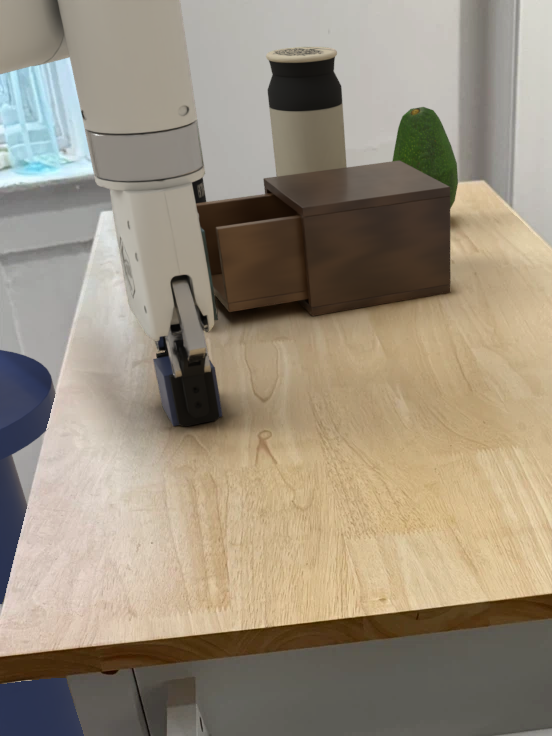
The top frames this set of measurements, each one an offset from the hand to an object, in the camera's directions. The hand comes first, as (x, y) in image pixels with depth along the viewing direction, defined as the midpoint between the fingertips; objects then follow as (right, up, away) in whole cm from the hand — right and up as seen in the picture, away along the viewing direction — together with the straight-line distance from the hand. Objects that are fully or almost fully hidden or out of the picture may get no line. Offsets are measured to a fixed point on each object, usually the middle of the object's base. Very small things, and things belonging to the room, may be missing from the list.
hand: (191, 408), depth 81 cm
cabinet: (+13, +20, +23) cm, 33 cm away
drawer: (+1, +17, +19) cm, 25 cm away
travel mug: (+7, +32, +38) cm, 50 cm away
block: (0, 0, 0) cm, 0 cm away
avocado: (+20, +34, +40) cm, 56 cm away
